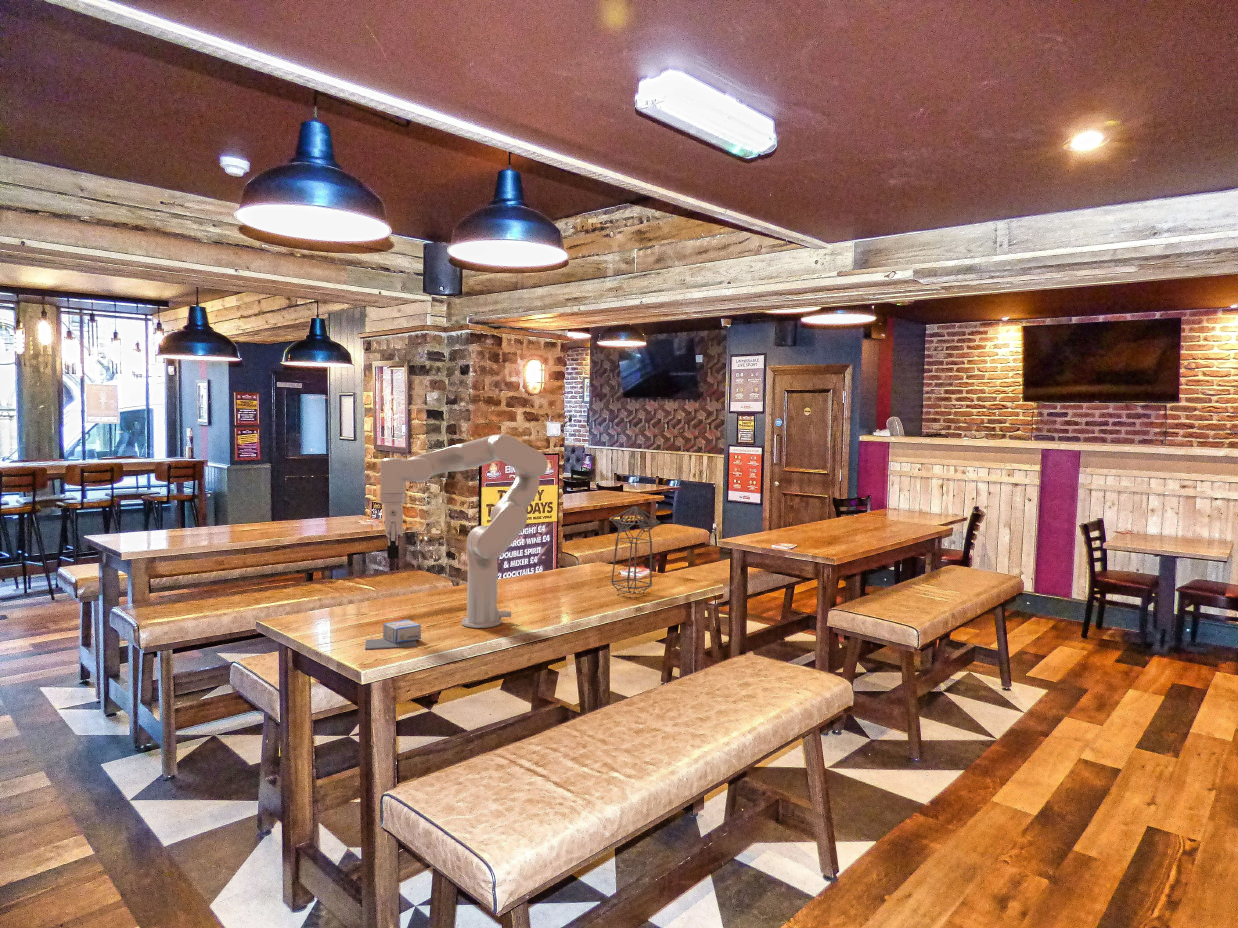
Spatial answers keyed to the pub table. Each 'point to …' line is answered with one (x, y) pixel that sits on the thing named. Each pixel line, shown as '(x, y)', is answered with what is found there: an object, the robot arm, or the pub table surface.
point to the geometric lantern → (638, 511)
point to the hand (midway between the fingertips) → (392, 558)
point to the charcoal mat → (387, 644)
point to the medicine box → (401, 631)
